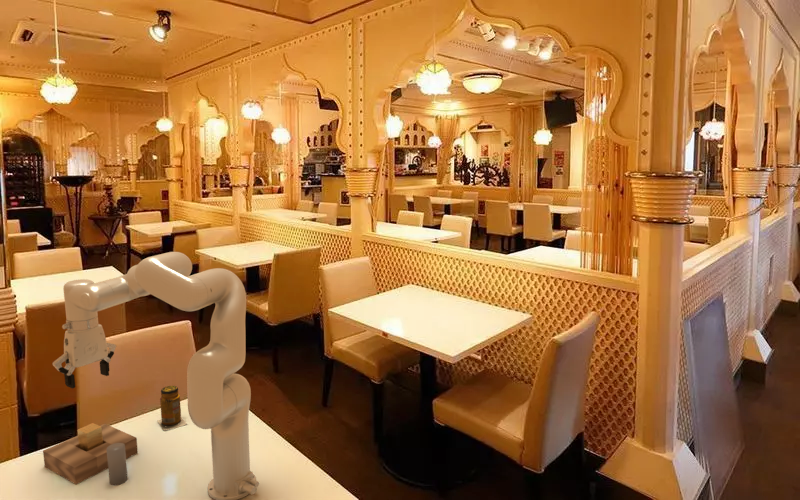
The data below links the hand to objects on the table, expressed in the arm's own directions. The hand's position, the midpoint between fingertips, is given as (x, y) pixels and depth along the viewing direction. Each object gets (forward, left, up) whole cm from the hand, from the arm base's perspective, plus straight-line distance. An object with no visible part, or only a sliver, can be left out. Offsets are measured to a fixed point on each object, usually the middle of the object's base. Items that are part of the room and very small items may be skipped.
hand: (88, 380), depth 149 cm
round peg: (-16, +3, -24) cm, 29 cm away
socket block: (0, +1, -24) cm, 24 cm away
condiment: (-1, -25, -25) cm, 35 cm away
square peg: (0, +1, -24) cm, 24 cm away
